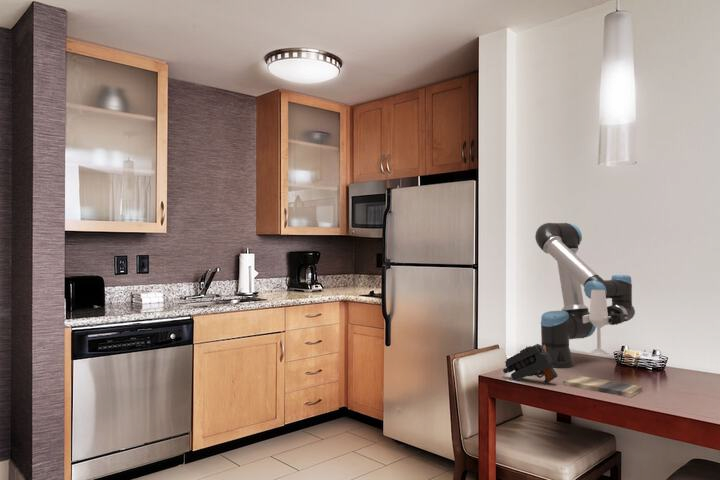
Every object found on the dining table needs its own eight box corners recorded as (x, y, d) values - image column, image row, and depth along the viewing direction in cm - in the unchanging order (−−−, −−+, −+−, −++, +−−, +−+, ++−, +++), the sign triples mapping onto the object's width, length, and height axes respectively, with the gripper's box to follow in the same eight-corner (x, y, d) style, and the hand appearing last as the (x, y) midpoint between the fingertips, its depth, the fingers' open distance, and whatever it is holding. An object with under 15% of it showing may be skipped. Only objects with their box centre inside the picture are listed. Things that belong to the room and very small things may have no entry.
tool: (557, 379, 193) (537, 342, 197) (514, 397, 202) (496, 362, 207) (562, 376, 197) (542, 340, 202) (520, 394, 207) (501, 359, 212)
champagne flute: (612, 354, 193) (612, 290, 193) (597, 355, 191) (596, 291, 192) (600, 351, 200) (599, 289, 200) (585, 352, 198) (584, 289, 198)
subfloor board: (563, 384, 196) (563, 380, 196) (576, 379, 204) (576, 375, 204) (630, 397, 179) (630, 392, 179) (642, 390, 187) (642, 386, 187)
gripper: (641, 326, 202) (622, 333, 185) (589, 321, 215) (567, 327, 199) (640, 307, 202) (621, 312, 185) (589, 303, 216) (567, 308, 199)
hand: (593, 320), depth 192 cm, fingers closed on champagne flute, 7 cm apart
